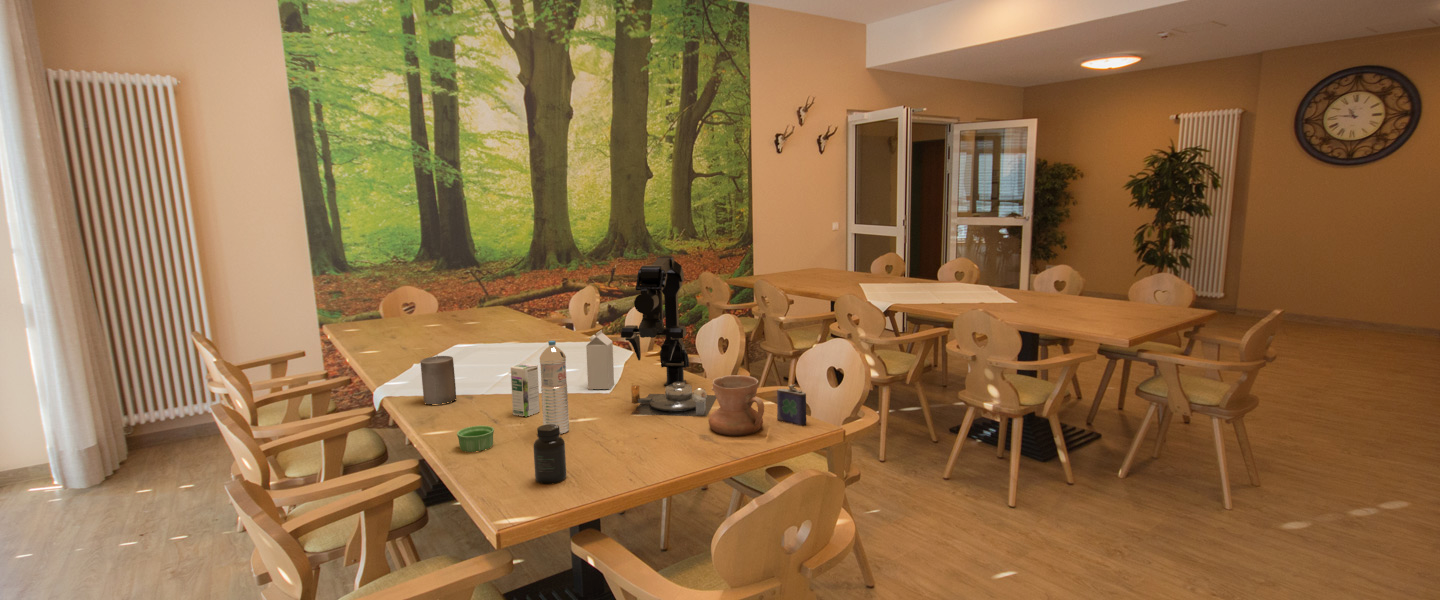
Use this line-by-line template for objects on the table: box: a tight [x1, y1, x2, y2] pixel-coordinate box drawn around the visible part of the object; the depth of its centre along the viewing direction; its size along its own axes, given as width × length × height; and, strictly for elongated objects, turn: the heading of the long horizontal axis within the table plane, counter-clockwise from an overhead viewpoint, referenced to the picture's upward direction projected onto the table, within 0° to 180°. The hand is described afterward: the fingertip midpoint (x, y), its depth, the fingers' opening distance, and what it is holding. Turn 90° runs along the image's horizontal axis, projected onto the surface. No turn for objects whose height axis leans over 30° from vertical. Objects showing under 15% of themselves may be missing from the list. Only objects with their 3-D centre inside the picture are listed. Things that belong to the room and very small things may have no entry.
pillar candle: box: [419, 354, 457, 405], centre depth 225 cm, size 10×10×15 cm
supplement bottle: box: [533, 424, 567, 485], centre depth 160 cm, size 7×7×12 cm
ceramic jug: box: [708, 374, 765, 437], centre depth 190 cm, size 18×14×14 cm
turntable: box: [630, 384, 696, 411], centre depth 215 cm, size 16×22×5 cm
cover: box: [665, 382, 693, 400], centre depth 218 cm, size 8×8×4 cm
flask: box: [776, 384, 807, 427], centre depth 198 cm, size 9×3×11 cm, turn 50°
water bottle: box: [539, 340, 570, 435], centre depth 192 cm, size 7×7×25 cm
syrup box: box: [510, 363, 541, 418], centre depth 210 cm, size 6×6×14 cm
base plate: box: [630, 393, 717, 417], centre depth 215 cm, size 22×22×1 cm
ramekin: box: [456, 425, 495, 453], centre depth 183 cm, size 9×9×4 cm
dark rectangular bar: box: [692, 387, 708, 416], centre depth 203 cm, size 3×4×8 cm
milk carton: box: [585, 329, 615, 390], centre depth 238 cm, size 7×7×19 cm
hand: (654, 360), depth 212 cm, fingers open, 9 cm apart
